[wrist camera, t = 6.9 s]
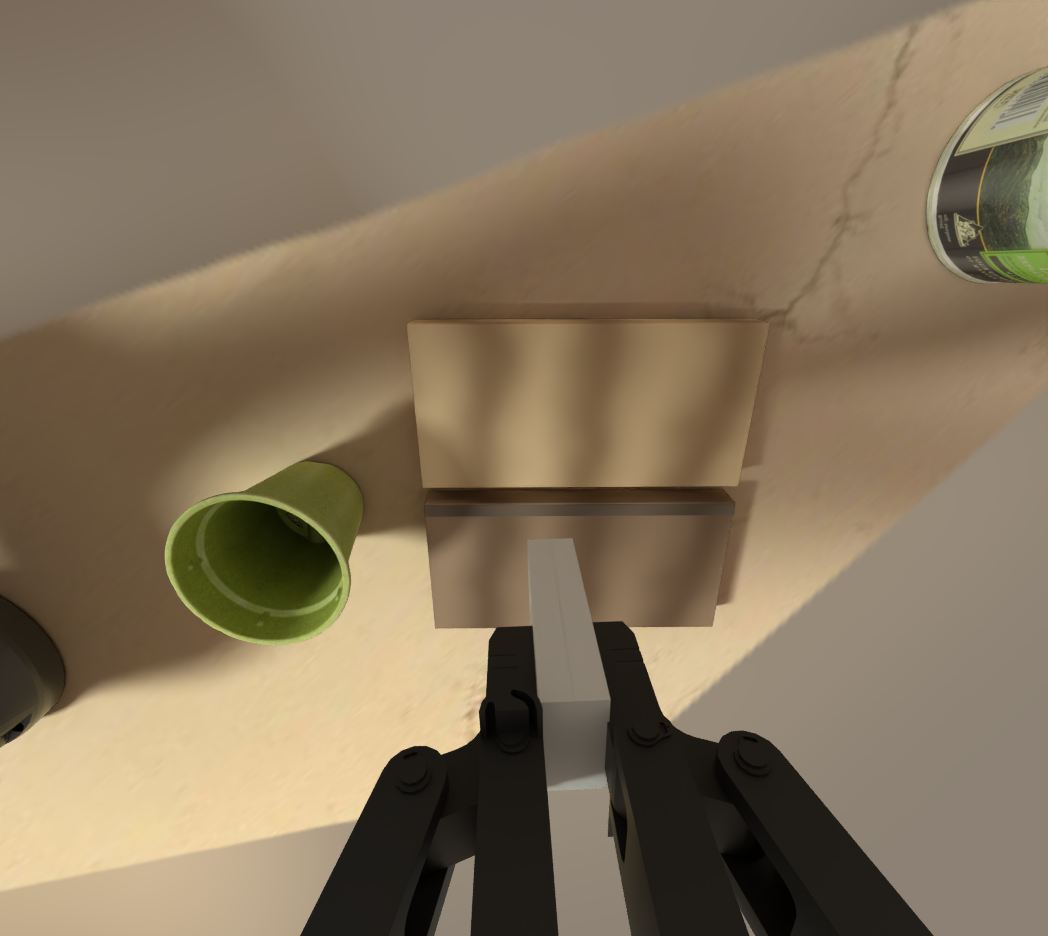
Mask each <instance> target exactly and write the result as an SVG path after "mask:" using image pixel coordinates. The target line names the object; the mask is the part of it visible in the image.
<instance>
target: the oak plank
mask: <svg viewBox="0 0 1048 936" xmlns="http://www.w3.org/2000/svg"><path fill="white" fill-rule="evenodd" d="M769 326H770V323H768V322H764V321H761V320H758V319H445V320H413V321H411V322H409V323H408V324H407V333H408V343H409V354H410V364H411V374H412V385H413V395H414V405H415V415H416V426H417V436H418V446H419V457H420V467H421V477H422V487H423V488H466V487H662V486H738V483H739V478H740V473H741V468H742V463H743V458H744V453H745V448H746V443H747V438H748V433H749V428H750V423H751V417H752V412H753V407H754V402H755V397H756V392H757V387H758V382H759V377H760V372H761V367H762V362H763V357H764V352H765V346H766V341H767V336H768V331H769Z"/></svg>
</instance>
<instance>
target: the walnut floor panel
mask: <svg viewBox="0 0 1048 936" xmlns="http://www.w3.org/2000/svg"><path fill="white" fill-rule="evenodd" d="M734 507H735V502H734V501H733V500H732V498H731V497H730V496H729V495H728V494H727V493H726V492H725V491H724V490H723V489H661V490H466V491H429V493H428V495H427V498H426V500H425V503H424V511H425V521H426V532H427V543H428V554H429V565H430V576H431V587H432V598H433V609H434V620H435V628H497V627H511V626H530V613H529V582H528V540H534V539H562V538H572V539H573V543H574V547H575V551H576V555H577V560H578V564H579V568H580V572H581V577H582V581H583V585H584V589H585V594H586V598H587V602H588V606H589V610H590V615H591V619H592V622H610V621H623V622H624V623H625V624H626V625H627V626H628V627H712V626H713V620H714V615H715V609H716V604H717V598H718V593H719V588H720V582H721V577H722V571H723V566H724V560H725V555H726V549H727V544H728V538H729V533H730V527H731V522H732V516H733V513H734Z"/></svg>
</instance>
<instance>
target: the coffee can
mask: <svg viewBox="0 0 1048 936" xmlns="http://www.w3.org/2000/svg"><path fill="white" fill-rule="evenodd" d="M926 221H927V230H928V236H929V240H930V243H931V245H932V247H933V249H934V251H935V253H936V255H937V257H938V258H939V259H940V261H941V262H942V263H943V264H944V265H945V266H946V267H947V268H948V269H949V270H950V271H952V272H953V273H954V274H956V275H958V276H960V277H962V278H964V279H966V280H969V281H973V282H978V283H990V284H993V283H1004V282H1009V283H1043V284H1048V67H1045V68H1040V69H1037V70H1034V71H1032V72H1029V73H1026V74H1024V75H1021V76H1019V77H1017V78H1015V79H1014V80H1012V81H1010V82H1007V83H1006V84H1005V85H1003V86H1002V87H1001V88H999V89H998V90H996V91H995V92H994V93H993V94H991V95H990V96H989V97H987V98H986V99H985V100H984V101H983V102H982V103H981V104H980V105H978V106H977V107H976V108H975V109H974V110H973V111H972V112H971V113H970V114H969V116H968V117H967V118H966V119H965V120H964V121H963V123H962V124H961V125H960V126H959V128H958V129H957V131H956V132H955V133H954V135H953V136H952V138H951V139H950V141H949V143H948V144H947V146H946V148H945V150H944V151H943V153H942V155H941V156H940V159H939V161H938V164H937V167H936V170H935V172H934V175H933V177H932V180H931V184H930V188H929V192H928V198H927V208H926Z"/></svg>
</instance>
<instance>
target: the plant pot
mask: <svg viewBox="0 0 1048 936" xmlns="http://www.w3.org/2000/svg"><path fill="white" fill-rule="evenodd" d="M288 513H291V514H292V515H293V516H294V517H295V518H296V519H297V520H298V521H299V522H300V523H301V524H303V527H299V526H298V525H296V524H295V523H294V522H292V521H291V520H290V518H289V517H288V516H287V514H288ZM362 517H363V498H362V495H361V492H360V490H359V488H358V486H357V485H356V483H355V482H354V481H353V480H352V479H351V478H350V477H349V476H348V475H347V474H346V473H345V472H343V471H342V470H340V469H339V468H337V467H335V466H333V465H330V464H324V463H316V462H308V461H305V462H299V463H296V464H293V465H291V466H289V467H287V468H286V469H284V470H282V471H280V472H278V473H277V474H275V475H273V476H271V477H269V478H267V479H266V480H264V481H262V482H260V483H258V484H256V485H254V486H253V487H251V488H249V489H247V490H245V491H241V492H232V493H225V494H220V495H216V496H212V497H209V498H207V499H204V500H202V501H200V502H199V503H197V504H195V505H193V506H192V507H190V508H189V509H188V510H186V511H185V512H184V513H183V514H182V515H181V516H180V517H179V518H178V519H177V520H176V522H175V523H174V525H173V526H172V528H171V530H170V532H169V535H168V538H167V542H166V545H165V565H166V571H167V574H168V577H169V579H170V581H171V584H172V585H173V587H174V589H175V591H176V592H177V594H178V596H179V597H180V598H181V600H182V602H183V603H184V604H185V605H186V606H187V607H188V608H189V609H190V610H191V611H192V612H193V613H194V614H195V615H196V616H197V617H199V618H200V619H202V621H203V622H205V623H206V624H208V625H209V626H211V627H212V628H214V629H216V630H218V631H221V632H222V633H224V634H226V635H228V636H230V637H233V638H236V639H239V640H242V641H247V642H251V643H256V644H262V645H288V644H294V643H298V642H302V641H305V640H308V639H311V638H313V637H315V636H317V635H318V634H320V633H322V632H323V631H325V630H326V629H327V628H329V627H330V626H331V625H332V624H333V623H334V622H335V621H336V620H337V618H338V617H339V616H340V614H341V612H342V611H343V609H344V607H345V605H346V602H347V600H348V597H349V593H350V586H351V575H350V569H349V563H348V561H349V557H350V554H351V551H352V548H353V544H354V541H355V538H356V535H357V532H358V529H359V526H360V523H361V520H362Z"/></svg>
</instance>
